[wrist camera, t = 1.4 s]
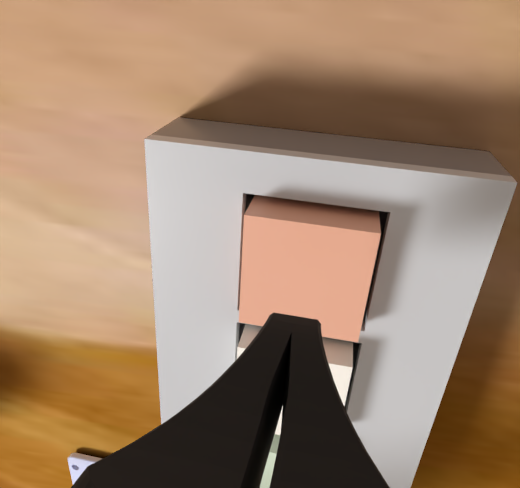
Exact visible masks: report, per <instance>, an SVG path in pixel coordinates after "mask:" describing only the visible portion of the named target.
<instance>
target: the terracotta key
mask: <svg viewBox="0 0 520 488" xmlns="http://www.w3.org/2000/svg"><path fill="white" fill-rule="evenodd" d="M380 236H381V228H380V219H379V211H376V210H369V209H361V208H353V207H346V206H338V205H330V204H323V203H315V202H307V201H300V200H292V199H284V198H277V197H269V196H261V195H255V196H254V197H253V199H252V201H251V203H250V205H249V207H248V209H247V210H246V212H245V214H244V226H243V246H242V266H241V286H240V306H239V322H240V323H246V324H252V325H258V326H263V325H264V324H265V322H266V321H267V319H268V317H269V315H271V314H272V313H280V314H286V315H292V316H298V317H304V318H310V319H317V320H318V321H319V322H320V323H321V333H322V337H328V338H334V339H340V340H346V341H352V342H358V340H359V335H360V331H361V326H362V321H363V317H364V312H365V307H366V302H367V298H368V293H369V288H370V284H371V279H372V274H373V269H374V265H375V260H376V255H377V251H378V246H379V241H380Z"/></svg>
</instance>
